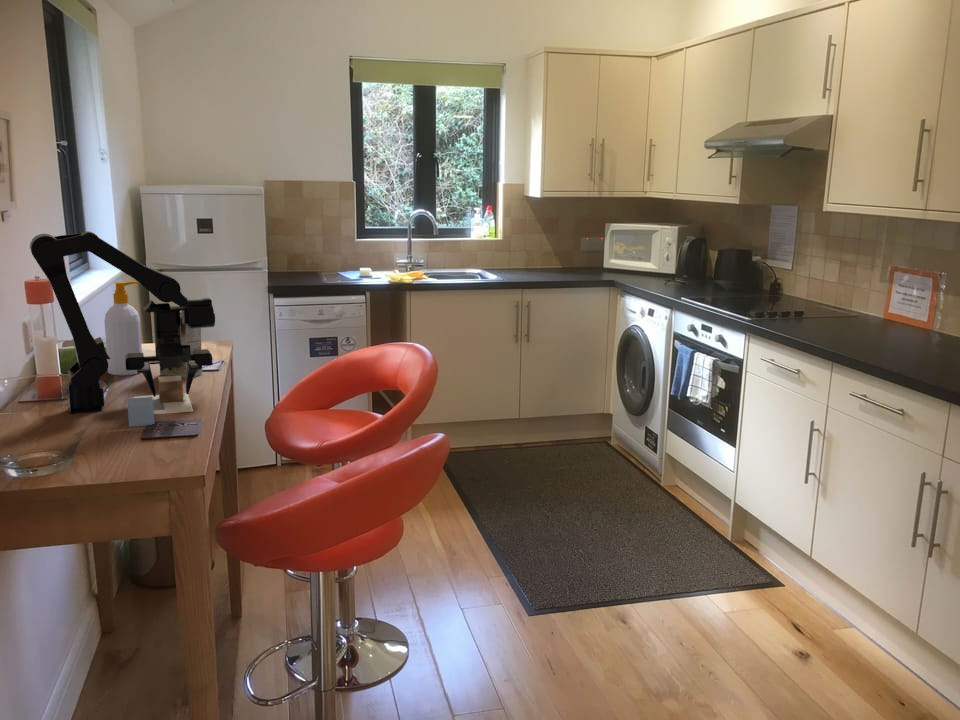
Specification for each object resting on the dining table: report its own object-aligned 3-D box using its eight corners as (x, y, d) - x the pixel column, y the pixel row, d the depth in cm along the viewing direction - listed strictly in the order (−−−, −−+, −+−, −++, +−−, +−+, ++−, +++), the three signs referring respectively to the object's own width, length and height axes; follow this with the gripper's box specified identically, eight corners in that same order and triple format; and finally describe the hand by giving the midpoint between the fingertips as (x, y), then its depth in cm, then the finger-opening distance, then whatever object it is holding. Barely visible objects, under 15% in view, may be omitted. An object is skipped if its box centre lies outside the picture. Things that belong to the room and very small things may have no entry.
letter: (135, 416, 179) (135, 415, 179) (133, 397, 194) (133, 396, 194) (193, 411, 184) (193, 411, 184) (187, 393, 198) (187, 392, 198)
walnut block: (160, 403, 189) (159, 382, 188) (159, 397, 194) (158, 376, 192) (183, 401, 191) (182, 380, 190) (181, 395, 196) (180, 375, 194)
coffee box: (158, 375, 214) (155, 314, 210) (176, 370, 220) (173, 310, 216) (186, 379, 211) (183, 318, 207) (203, 374, 217) (201, 314, 213)
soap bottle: (149, 373, 216) (144, 283, 210) (111, 377, 210) (105, 285, 205) (142, 366, 222) (136, 279, 217) (104, 370, 217) (98, 280, 212)
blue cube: (129, 427, 172) (127, 404, 171) (128, 421, 177) (127, 398, 176) (154, 425, 174) (153, 403, 173) (153, 419, 179) (152, 396, 178)
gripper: (124, 338, 178) (128, 408, 181) (213, 334, 185) (216, 401, 189) (123, 329, 188) (127, 394, 191) (208, 325, 195) (211, 388, 199)
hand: (171, 395), depth 192 cm, fingers open, 7 cm apart
